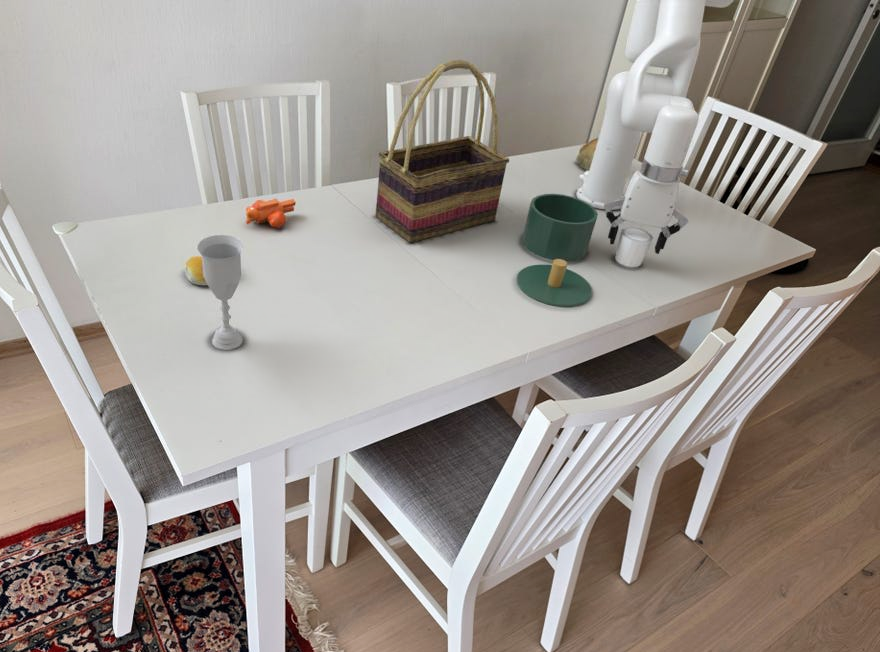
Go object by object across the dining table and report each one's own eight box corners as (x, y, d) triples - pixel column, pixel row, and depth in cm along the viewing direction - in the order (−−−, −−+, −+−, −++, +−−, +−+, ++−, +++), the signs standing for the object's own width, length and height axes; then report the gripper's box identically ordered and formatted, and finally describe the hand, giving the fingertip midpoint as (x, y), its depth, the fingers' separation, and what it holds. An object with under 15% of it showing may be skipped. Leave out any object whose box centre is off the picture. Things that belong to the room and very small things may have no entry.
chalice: (209, 327, 117) (201, 233, 106) (249, 328, 118) (245, 236, 107) (203, 353, 111) (193, 257, 100) (245, 354, 112) (240, 259, 101)
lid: (502, 287, 137) (508, 261, 133) (537, 261, 147) (544, 236, 143) (570, 318, 130) (578, 292, 127) (602, 288, 140) (610, 263, 137)
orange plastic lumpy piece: (289, 188, 150) (240, 199, 143) (306, 211, 147) (257, 223, 141) (285, 205, 153) (237, 216, 147) (302, 227, 151) (254, 240, 144)
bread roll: (240, 280, 130) (239, 262, 127) (195, 290, 125) (193, 272, 123) (224, 259, 135) (223, 242, 132) (179, 269, 130) (177, 251, 128)
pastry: (578, 155, 199) (585, 128, 194) (621, 164, 197) (629, 137, 192) (571, 171, 189) (579, 143, 184) (616, 182, 186) (625, 153, 181)
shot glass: (644, 272, 147) (654, 244, 143) (612, 267, 148) (622, 238, 144) (641, 257, 153) (651, 229, 148) (611, 252, 154) (620, 224, 149)
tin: (510, 246, 151) (519, 206, 145) (540, 225, 161) (549, 187, 155) (568, 270, 145) (580, 230, 139) (596, 247, 154) (608, 209, 149)
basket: (408, 245, 147) (428, 77, 125) (371, 216, 155) (383, 55, 134) (499, 221, 160) (531, 66, 138) (459, 196, 169) (484, 46, 147)
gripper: (702, 172, 139) (673, 247, 149) (616, 156, 141) (594, 231, 152) (705, 185, 133) (675, 262, 143) (616, 168, 135) (593, 245, 146)
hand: (634, 246), depth 147 cm, fingers open, 9 cm apart
